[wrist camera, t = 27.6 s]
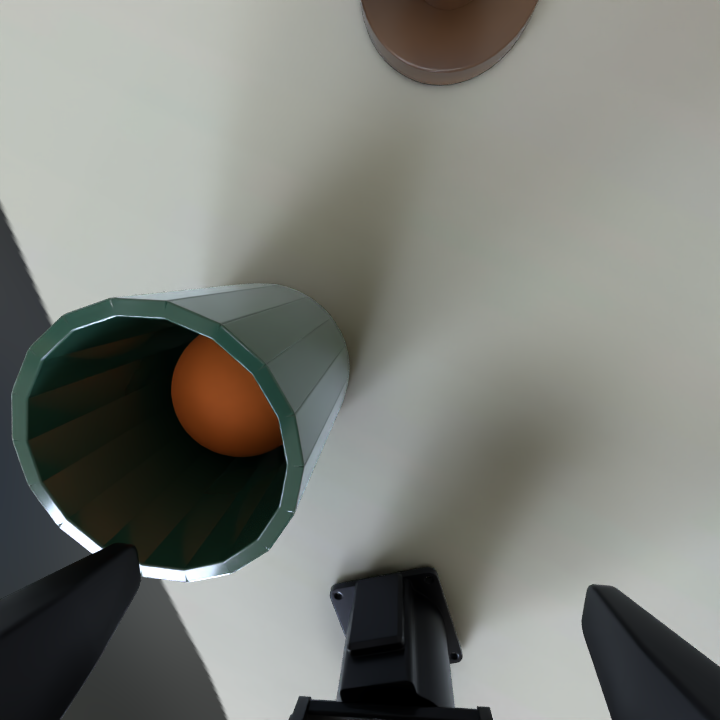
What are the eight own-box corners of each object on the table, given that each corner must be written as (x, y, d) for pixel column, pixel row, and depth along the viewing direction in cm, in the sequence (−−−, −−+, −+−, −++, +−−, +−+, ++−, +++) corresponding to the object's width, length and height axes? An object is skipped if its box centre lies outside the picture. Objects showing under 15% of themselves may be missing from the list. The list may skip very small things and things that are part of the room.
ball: (333, 451, 19) (319, 404, 13) (209, 486, 18) (143, 452, 13) (307, 349, 22) (287, 277, 16) (198, 376, 21) (141, 310, 16)
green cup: (371, 418, 21) (345, 552, 11) (226, 456, 22) (90, 603, 12) (319, 260, 19) (234, 253, 9) (166, 312, 20) (-45, 352, 11)
